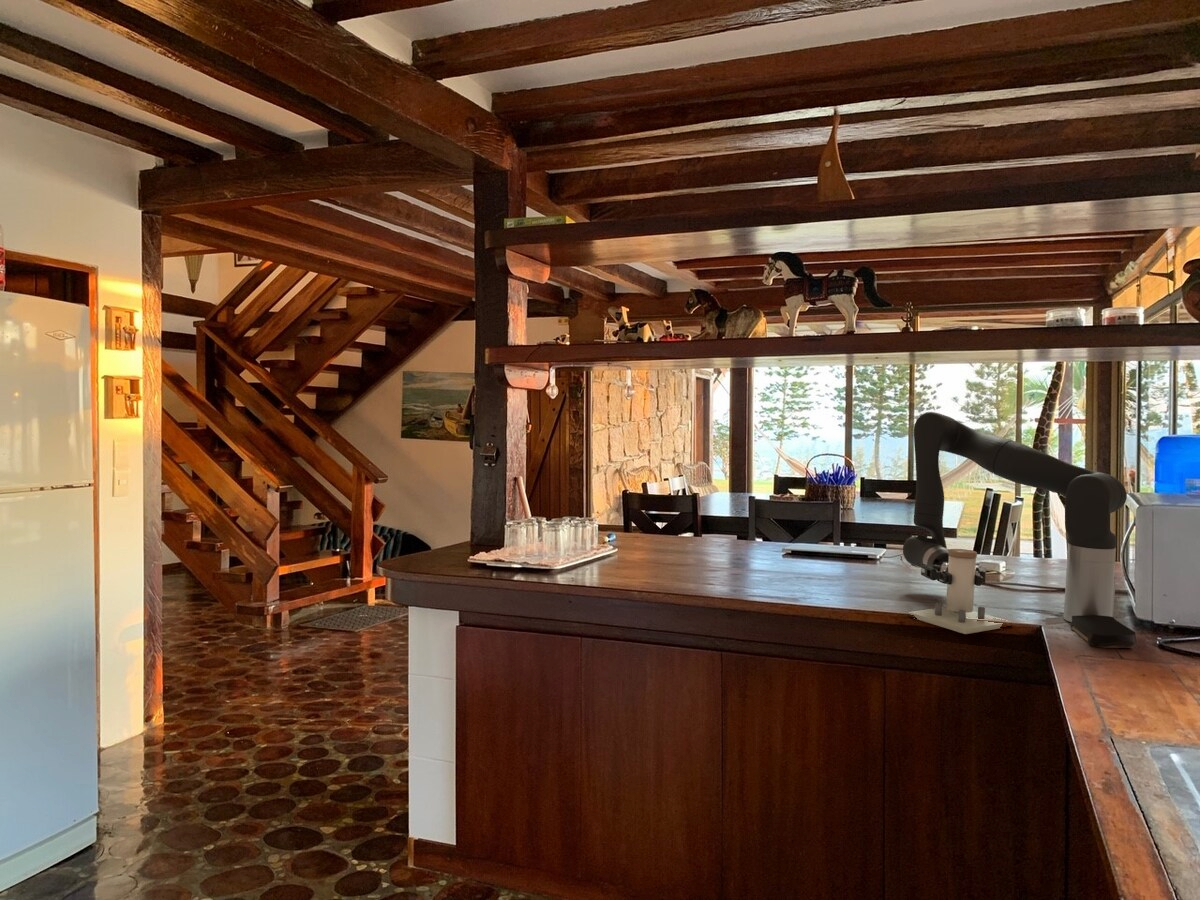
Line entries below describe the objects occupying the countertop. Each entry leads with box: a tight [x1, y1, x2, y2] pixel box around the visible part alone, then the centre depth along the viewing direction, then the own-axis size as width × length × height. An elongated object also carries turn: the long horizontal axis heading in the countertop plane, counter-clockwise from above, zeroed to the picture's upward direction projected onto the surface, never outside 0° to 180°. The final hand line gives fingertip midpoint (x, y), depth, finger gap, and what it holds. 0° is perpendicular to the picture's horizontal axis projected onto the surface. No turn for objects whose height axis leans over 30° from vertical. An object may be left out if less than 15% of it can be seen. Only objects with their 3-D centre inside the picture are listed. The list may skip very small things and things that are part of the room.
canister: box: [945, 548, 978, 613], centre depth 182 cm, size 6×6×13 cm
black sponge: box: [1069, 615, 1137, 649], centre depth 171 cm, size 16×8×4 cm, turn 166°
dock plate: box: [907, 602, 1012, 635], centre depth 183 cm, size 15×15×4 cm
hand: (964, 580), depth 180 cm, fingers closed on canister, 5 cm apart
